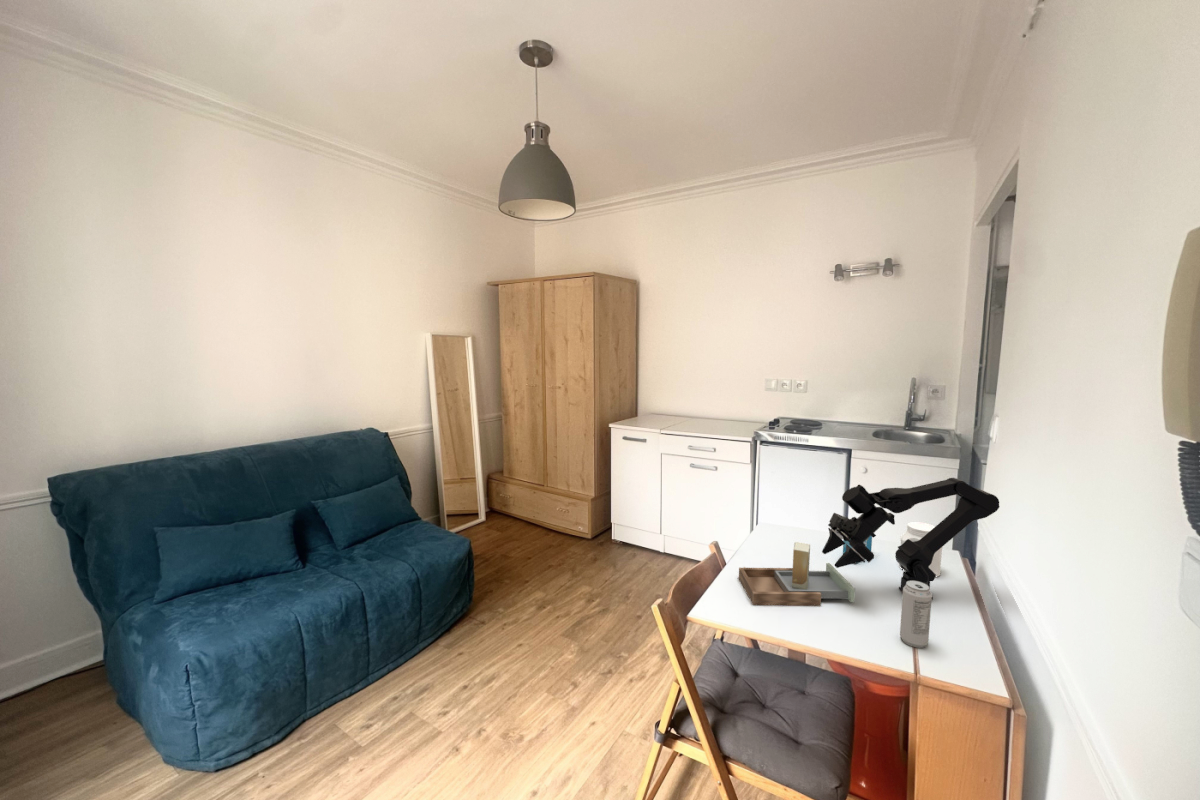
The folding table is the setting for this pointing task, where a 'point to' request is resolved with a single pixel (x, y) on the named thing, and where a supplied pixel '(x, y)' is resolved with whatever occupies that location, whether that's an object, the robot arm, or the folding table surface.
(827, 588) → the tray
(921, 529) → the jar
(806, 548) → the skincare box
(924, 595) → the energy drink can
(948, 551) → the folding table surface
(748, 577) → the caddy
